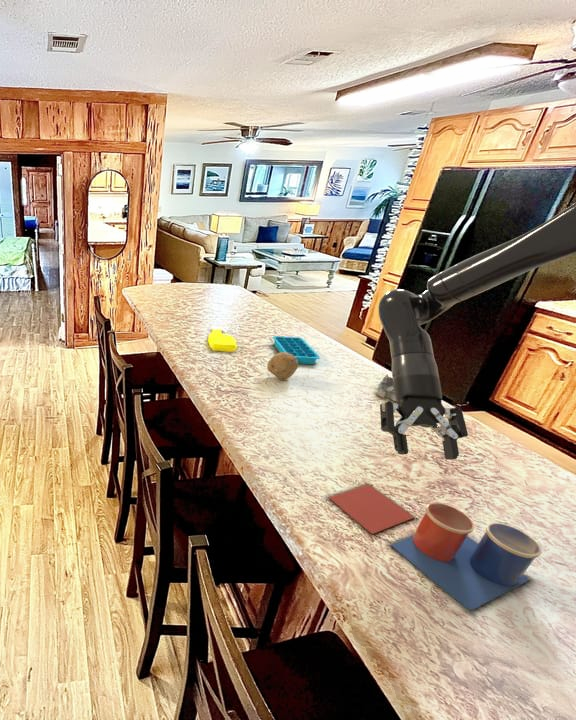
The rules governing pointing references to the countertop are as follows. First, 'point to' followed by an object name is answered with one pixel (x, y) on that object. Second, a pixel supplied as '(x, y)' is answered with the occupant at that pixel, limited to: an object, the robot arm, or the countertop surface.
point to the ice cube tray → (296, 349)
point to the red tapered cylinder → (442, 531)
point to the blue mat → (456, 574)
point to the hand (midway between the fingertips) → (427, 456)
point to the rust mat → (371, 508)
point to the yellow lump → (221, 340)
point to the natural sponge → (282, 365)
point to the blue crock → (504, 554)
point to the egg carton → (386, 388)
